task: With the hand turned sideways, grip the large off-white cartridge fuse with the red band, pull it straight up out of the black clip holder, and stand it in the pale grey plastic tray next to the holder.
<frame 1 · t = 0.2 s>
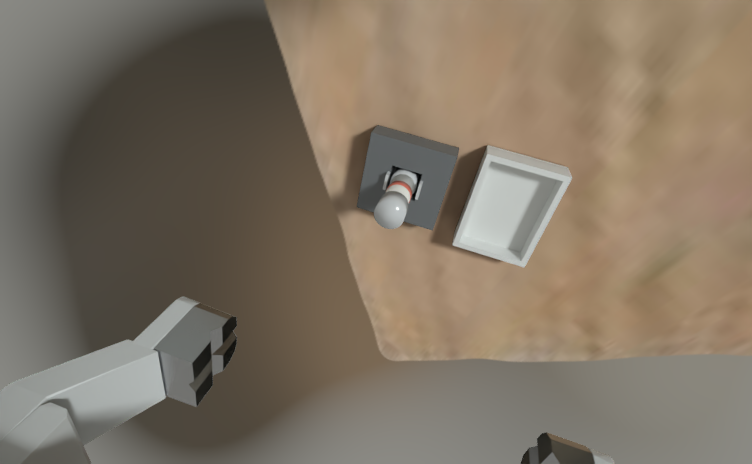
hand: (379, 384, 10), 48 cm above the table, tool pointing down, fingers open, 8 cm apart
fuse: (406, 176, 58), point 1 cm above the table, touching fuse holder
fuse holder: (407, 174, 59), on the table
tray: (506, 203, 57), on the table
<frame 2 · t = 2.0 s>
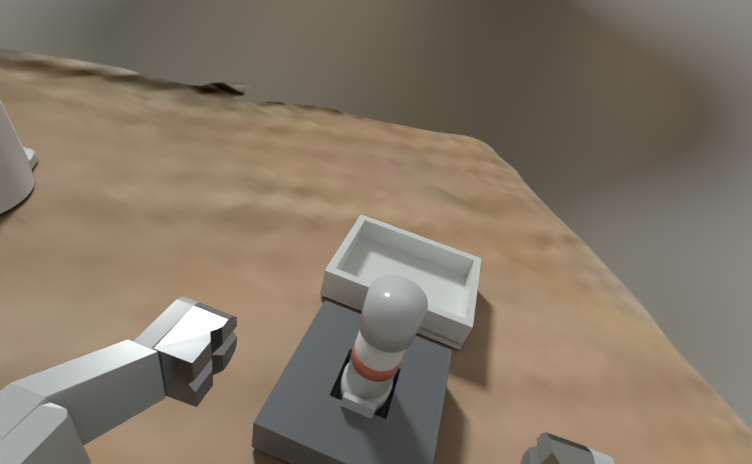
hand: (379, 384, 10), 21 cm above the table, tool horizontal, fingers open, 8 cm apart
fuse: (360, 398, 31), point 1 cm above the table, touching fuse holder
fuse holder: (358, 405, 32), on the table
tray: (401, 286, 44), on the table
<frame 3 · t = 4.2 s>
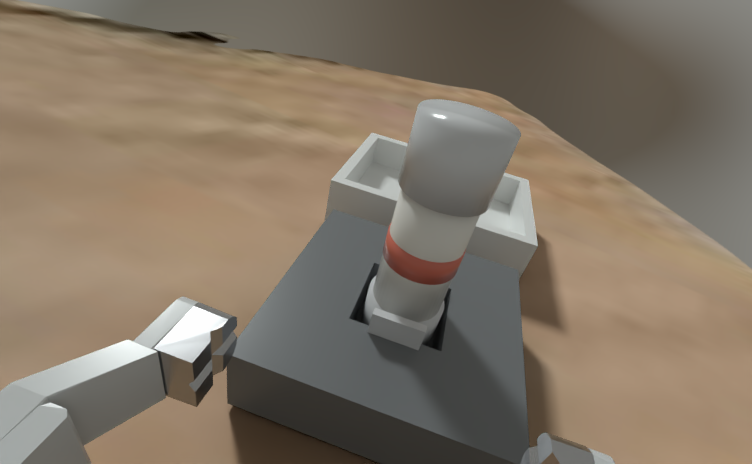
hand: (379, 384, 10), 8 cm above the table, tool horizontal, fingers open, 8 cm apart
fuse: (392, 335, 21), point 1 cm above the table, touching fuse holder
fuse holder: (388, 346, 22), on the table
tray: (429, 215, 34), on the table
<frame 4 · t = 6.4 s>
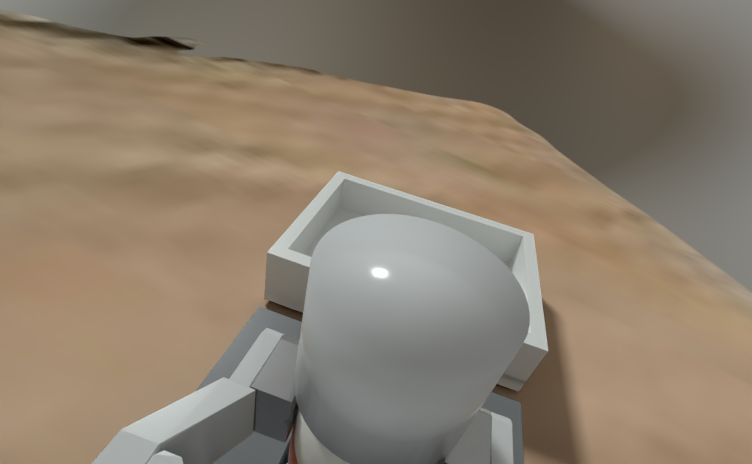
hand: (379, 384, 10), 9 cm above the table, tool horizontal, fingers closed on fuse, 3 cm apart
tray: (406, 282, 26), on the table
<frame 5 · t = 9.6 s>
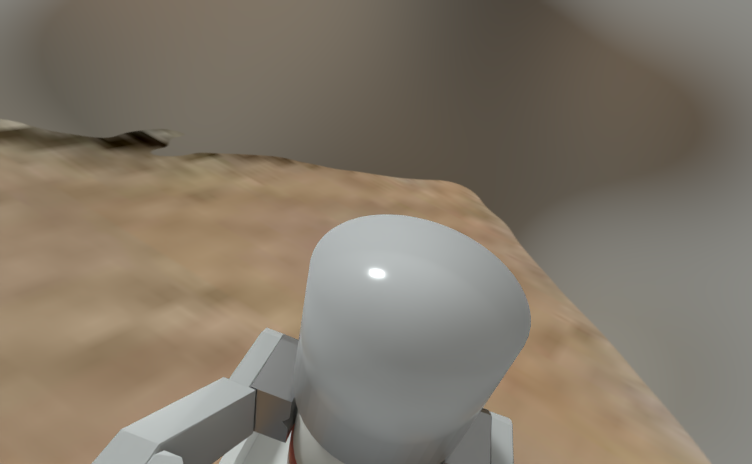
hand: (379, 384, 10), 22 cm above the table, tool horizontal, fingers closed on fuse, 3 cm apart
when the fingers open (10 cm above the table, at t = 12.7 s): fuse drops 2 cm, resting on tray.
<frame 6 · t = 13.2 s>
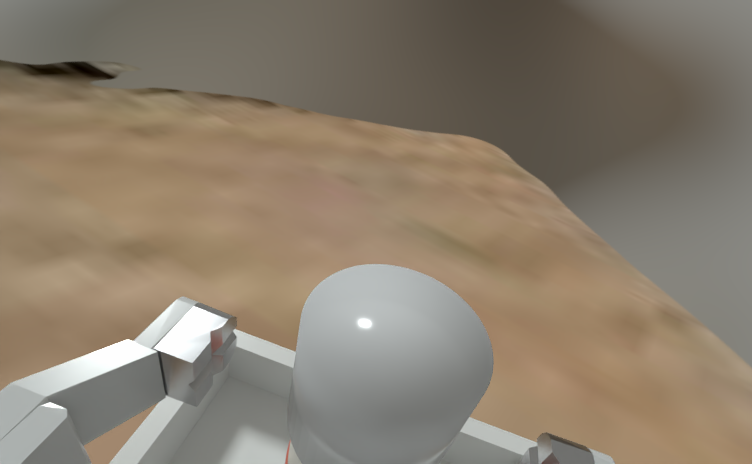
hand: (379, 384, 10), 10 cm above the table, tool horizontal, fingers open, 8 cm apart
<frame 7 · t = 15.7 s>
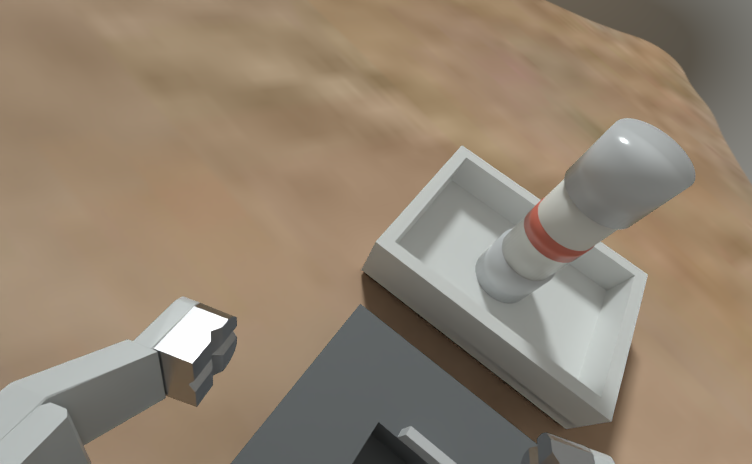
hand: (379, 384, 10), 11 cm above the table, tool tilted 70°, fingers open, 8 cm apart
fuse: (501, 276, 26), point 1 cm above the table, touching tray
tray: (494, 283, 27), on the table
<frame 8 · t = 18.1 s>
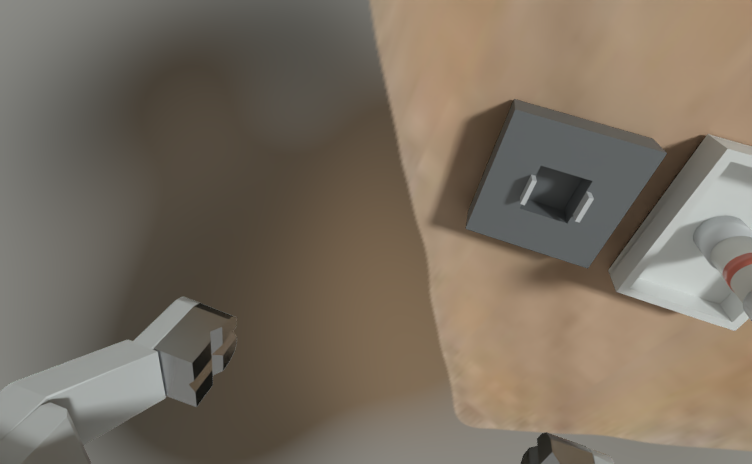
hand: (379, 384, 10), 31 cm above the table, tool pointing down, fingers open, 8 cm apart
fuse: (719, 234, 35), point 1 cm above the table, touching tray
fuse holder: (550, 179, 37), on the table
tray: (713, 228, 36), on the table
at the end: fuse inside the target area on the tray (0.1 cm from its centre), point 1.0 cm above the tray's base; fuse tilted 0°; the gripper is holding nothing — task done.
